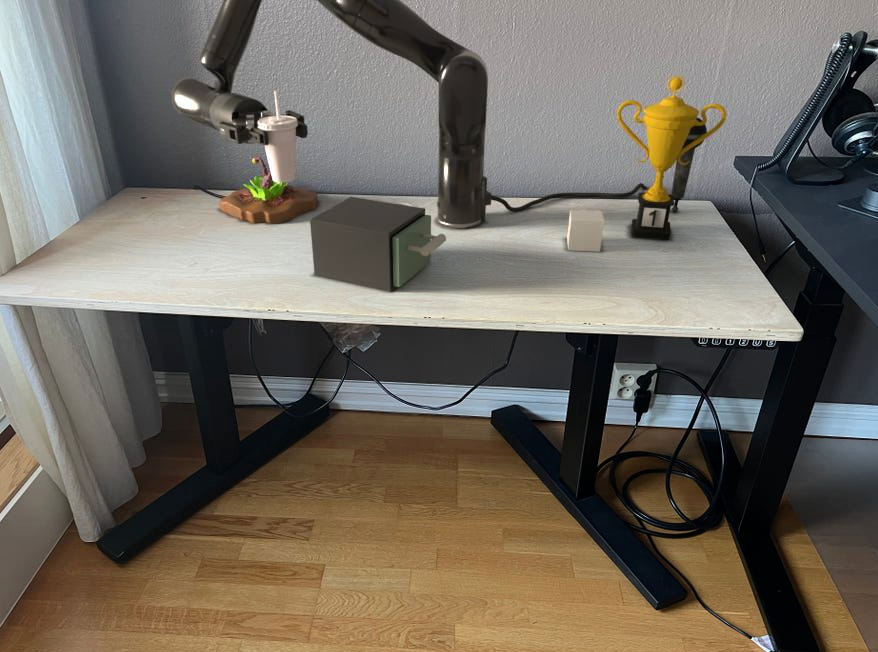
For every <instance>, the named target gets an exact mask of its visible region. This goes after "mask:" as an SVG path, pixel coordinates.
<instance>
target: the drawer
mask: <svg viewBox="0 0 878 652" xmlns="http://www.w3.org/2000/svg"><path fill="white" fill-rule="evenodd" d="M446 241H447V236H446V235H445V234H444V233H439V234H438V235H434V234H432V215H429V214H425V215H424V216H423V217H421V218H420V219H418V220H417V219H415V220H414V221H412V222H411V223H410V224H408V225H407V226H405V227H404V228H402V229H401V230H399V231H398V232H397V233H395V234H394V235H392V236H391V248H392V278H393V286H396V287H395V288H400V287H402V286H403V285H404V284H405V283H407V281H409V280H410V279H411V278H413V277H414V276H415V275H416V274H417V273H419V272H420V271H421V270H422V269H424V268H425V267H426V266H427V265H429V264H430V263H431V262H432V252H434V251H435V250H437V249H438V248H439V247H440V246H442V245H443V244H444V243H445V242H446Z"/></svg>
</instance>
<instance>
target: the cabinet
mask: <svg viewBox="0 0 878 652" xmlns="http://www.w3.org/2000/svg"><path fill="white" fill-rule="evenodd" d="M424 215H426V208H425V207H419V206H413V205H406V204H400V203H394V202H388V201H381V200H375V199H367V198H362V197H356V196H349V197H348V198H346V199H344V200H342V201H340V202H339V203H337V204H335V205H333V206H331V207H329V208H328V209H325V210H323V211H322V212H320V213H318V214H317V215H315V216H313V217H311V218H309V225H310V237H311V249H312V260H313V270H314V273H313V274H314V276H316V277H320V278H325V279H330V280H334V281H339V282H344V283H348V284H352V285H353V284H354V285H358V286H361V287H367V288H370V289H371V288H372V289H375V290H376V289H377V290H381V291H386V292H392V291H393V290H394V289H396V288H397V287H396V286H393V278H392V248H391V236H392V235H394V234H395V233H397V232H398V231H399V230H401V229H402V228H404V227H405V226H407V225H408V224H410V223H411V222H412V221H414V220H415V219H417V220H418V219H420V218H421V217H423V216H424Z"/></svg>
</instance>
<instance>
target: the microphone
mask: <svg viewBox="0 0 878 652" xmlns="http://www.w3.org/2000/svg"><path fill="white" fill-rule="evenodd" d="M696 120H697V121H698V122H702V121H703V119H702V118H700V117H698V116H697V118H696ZM707 132H708V129H707V126H706V124H704V125H702V126H693V127H692V128H691V129H690V132H689V133H688V136H687V138H686V140H685V143H684V145H683V147H682V149H684V148H685V147H686V146H688V145H689V144H691V143H692V142H694V141H695V140H697V139H698V138H700V137H701V136H703V135H704V134H706V133H707ZM704 142H705V140H703V141H702V142H700V143H699V144H697V145H695V146H694V147H692V148H691V149H689V150H687V151H686V152H684V153H683V154H682V155H681V157H680V161H681V162H683V163H687V162H689V161H690V162H689V163H688V164H686V165H682V164H680V163H679V162H678V158H677V160H676V162H675V168H674V175H673V180H672V181H673V182H672V188H671V193H670V194H671V195H673V198H674V205H673V206H671V211H672V212H673V213H677V212H678V211H679V201H681V200H682V199H684V197H685V194H686V190H687V186H688V182H689V178H690V177H689V176H690V173H691V168H692V163H693V159H694V155H695V151H696V148H698V147H700V146H701V145H702V144H703V143H704ZM682 149H681V150H682Z"/></svg>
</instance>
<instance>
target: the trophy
mask: <svg viewBox="0 0 878 652" xmlns="http://www.w3.org/2000/svg"><path fill="white" fill-rule="evenodd" d="M685 83H686V82H685V79H684V78H683V76H681V75H673V76H672V77H670V78H669V79H668V80H667V85H666V86H667V89H668V90H669V91H670V92H671V93H673V94H672V95H671V96H666V97H664V98H663V99H662V100H661V101H660V102H656V103H653V104H650V105H647V106H645V107H644V108H643V107H642V105H641V103H640V102H639V101H637V100H632V99H631V100H626V101H623V102H622V103H621V104H620V105H619V106H618V108H617V111H616V117H617V121H618V123H619V125H620V127H621V128H622V130H624V132H625V133H626V134H627V135H628V136H629V137H630V138H631V139H632V140H633V141H634V142H635V143H636V144H637V145H638V146H639V147H640V148H642V149H643V151H644V153H646V156H645V158H644V159H641V160H640V159H639V158H638V157H636V161H637V162H638V163H644V162H646V161H648V160H649V163H650V165H651V167H652V168H654V170H655V171H656V175H655V181H654V183H653V185H652V186H651V187H649V188H648V189H647V190H646V191H641V192H638V194H637V202H638V209H637V215H636V218H632V220H631V223H630V224H631V225H630V236H631V237H632V238H636V239H637V238H638V239H647V240H648V239H649V240H662V241H669V240H671V234H672V229H671V222H670V221H669V220H670V219H669V218H670V213H671V210H672V207H673V206H674V203H675V200H674V198H673V195H671V194H672V193H668V192H667V189H666V188H665V187H664V184H663V183H664V178H665V176H664V173H665V172H667V171H669V169H671V168H673V166H674V165H676V161H677V158H678V162H679V163H680V164H682V165H686V164H688V163H689V162H690V161H689V162H687V163H683V162H681V161H680V157H681V155H682V154H683V153H684V152H686V151H687V150H689V149H691V148H692V147H694V146H695V145H697V144H699V143H700V142H702V141H703V140H704V141H705V140H706V139H708V138H709V137H711V136H712V135H714V133H716V132H718V130H719V129H720V128H722V126H723V125H724V123H725V122H726V118H727V112H726V111H727V110H726V109H725V107H724V106H723V105H722V104H719V103H710V104H707V105H705V106H704V107H703V108H702V109H701V111H700V110H698V108H696V107H694V106H693V105H689V104H687V103H685V101H684V99H683V98H681V97H678V96H676V93H679V92H681V91H682V90H683V88H684V87H685ZM627 106H634V107H636V108H637V111H636V112H635V114H634V115H633V117H632V118H633V121H634V122H635V123H637V124H644V126H645V127H646V133H647V135H646V136H647V145H646V144H645V143H644V142H643V141H642V140H641V139H640V138H639V137H638V136H637V134H635V133H634V132H633V131H632V129H630V127H629V126H628V125H627V124H626V123H625V121H624V120H623V118H622V110H624V108H626V107H627ZM709 109H716V110H718V111H719V112H720V113H721V118H720V120H719V122H718V123H716V125H715V126H714V127H712V128H711V129H710V130H709V131H708V130H707V133H706V134H704V135H703V136H701V137H700V138H698V139H697V140H695V141H694V142H692V143H691V144H689V145H688V146H686V147H685V148H684V149H682V147H683V145H684V143H685V140H686V138H687V136H688V133H689V132H690V129H691V128H692V127H693V126H702V125H704V124H705V125H706V124H707V122H708V117H707V115H706V112H707V111H708V110H709ZM642 111H643V112H644V117H642V118H639V116H640V115H641V113H642ZM699 114H700V115H701V119H702V122H698V121H697V120H696V118H697V117H698V116H699ZM704 141H703V142H704ZM681 149H682V150H681Z"/></svg>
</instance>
